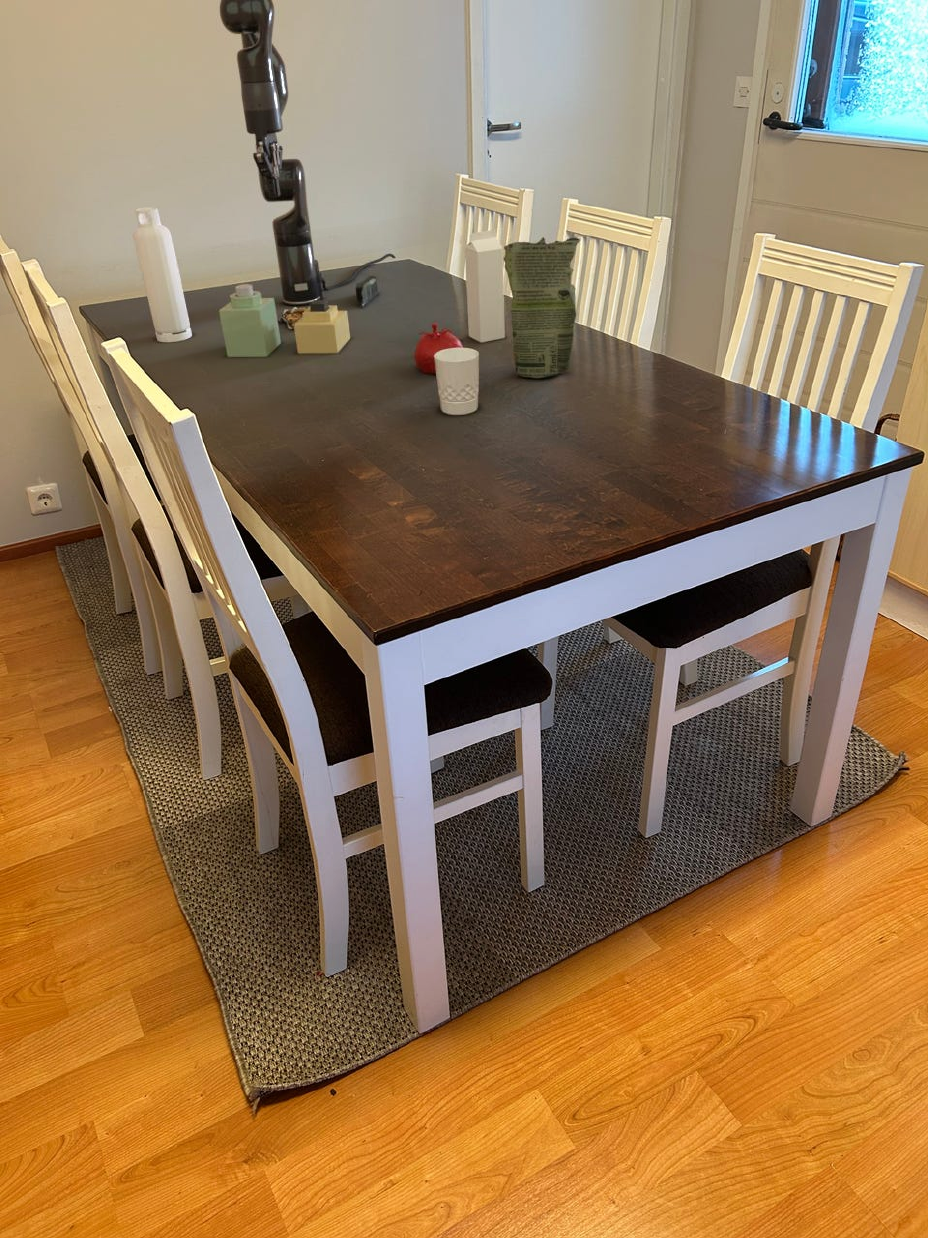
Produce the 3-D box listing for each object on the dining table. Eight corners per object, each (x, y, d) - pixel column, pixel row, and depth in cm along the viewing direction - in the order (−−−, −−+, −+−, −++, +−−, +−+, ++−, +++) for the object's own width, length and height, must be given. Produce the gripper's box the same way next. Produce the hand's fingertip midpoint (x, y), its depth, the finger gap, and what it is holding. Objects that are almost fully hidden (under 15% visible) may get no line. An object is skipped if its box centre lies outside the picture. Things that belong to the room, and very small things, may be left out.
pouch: (501, 374, 184) (497, 240, 171) (539, 358, 192) (538, 229, 178) (545, 384, 178) (545, 246, 164) (583, 368, 185) (585, 234, 171)
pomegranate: (473, 367, 189) (471, 320, 184) (439, 380, 183) (436, 332, 178) (439, 358, 195) (436, 313, 190) (404, 371, 189) (400, 325, 184)
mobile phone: (366, 274, 243) (351, 286, 230) (377, 273, 242) (363, 286, 230) (368, 293, 245) (354, 307, 233) (379, 293, 245) (365, 307, 232)
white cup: (449, 419, 165) (446, 364, 160) (430, 406, 171) (426, 352, 165) (488, 410, 168) (486, 355, 162) (468, 398, 174) (465, 344, 168)
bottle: (196, 331, 222) (170, 204, 207) (185, 341, 215) (157, 211, 200) (164, 332, 223) (136, 206, 208) (151, 342, 216) (121, 212, 201)
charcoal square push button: (314, 309, 204) (313, 299, 203) (329, 308, 204) (327, 299, 203) (310, 313, 202) (309, 303, 201) (325, 312, 201) (323, 303, 200)
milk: (468, 336, 207) (463, 231, 196) (492, 331, 210) (488, 227, 198) (481, 343, 203) (476, 235, 191) (505, 338, 205) (502, 231, 193)
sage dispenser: (243, 343, 212) (233, 288, 205) (281, 343, 210) (272, 288, 204) (227, 356, 204) (216, 300, 197) (266, 356, 202) (257, 300, 196)
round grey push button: (240, 294, 202) (238, 284, 201) (256, 294, 202) (254, 283, 201) (234, 298, 199) (232, 288, 198) (250, 298, 199) (248, 287, 198)
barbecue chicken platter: (294, 332, 217) (292, 316, 215) (277, 321, 226) (275, 306, 224) (322, 327, 220) (320, 311, 218) (304, 316, 229) (302, 301, 227)
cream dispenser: (312, 338, 212) (307, 302, 208) (350, 338, 211) (346, 302, 206) (297, 353, 203) (292, 316, 199) (337, 353, 202) (333, 315, 197)
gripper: (268, 108, 188) (282, 201, 197) (288, 102, 199) (300, 191, 208) (233, 110, 189) (248, 202, 198) (254, 104, 200) (268, 192, 209)
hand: (274, 196), depth 203 cm, fingers closed
